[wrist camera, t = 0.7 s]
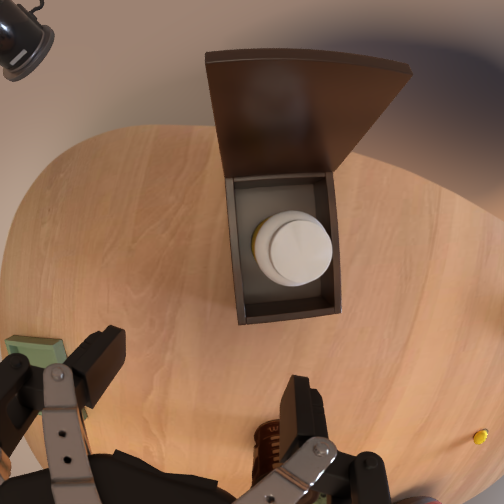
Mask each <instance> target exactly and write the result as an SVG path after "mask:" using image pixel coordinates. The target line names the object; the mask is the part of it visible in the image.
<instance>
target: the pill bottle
mask: <svg viewBox="0 0 504 504" xmlns="http://www.w3.org/2000/svg"><path fill="white" fill-rule="evenodd" d="M251 250H252V254H253V257H254V259H255V261H256V262H257V264H258V265H259V267H260V269H261V270H262V272H263V273H264V274H265V275H266V276H267V277H268V278H269V279H271V280H272V281H274V282H276V283H278V284H281V285H284V286H300V285H304V284H306V283H309V282H311V281H313V280H315V279H317V278H319V277H320V276H321V275H322V274H323V273H324V272H325V271H326V270H327V268H328V266H329V264H330V262H331V258H332V244H331V240H330V238H329V236H328V234H327V232H326V231H325V229H324V227H323V226H322V225H321V223H320V222H319V221H318V220H317V219H315V218H314V217H313V216H311V215H309V214H307V213H304V212H301V211H284V212H281V213H278V214H275V215H273V216H271V217H268V218H266V219H265V220H263V221H262V222H261V223H260V224H259V225H258V226H257V227H256V229H255V230H254V232H253V235H252V238H251Z"/></svg>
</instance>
